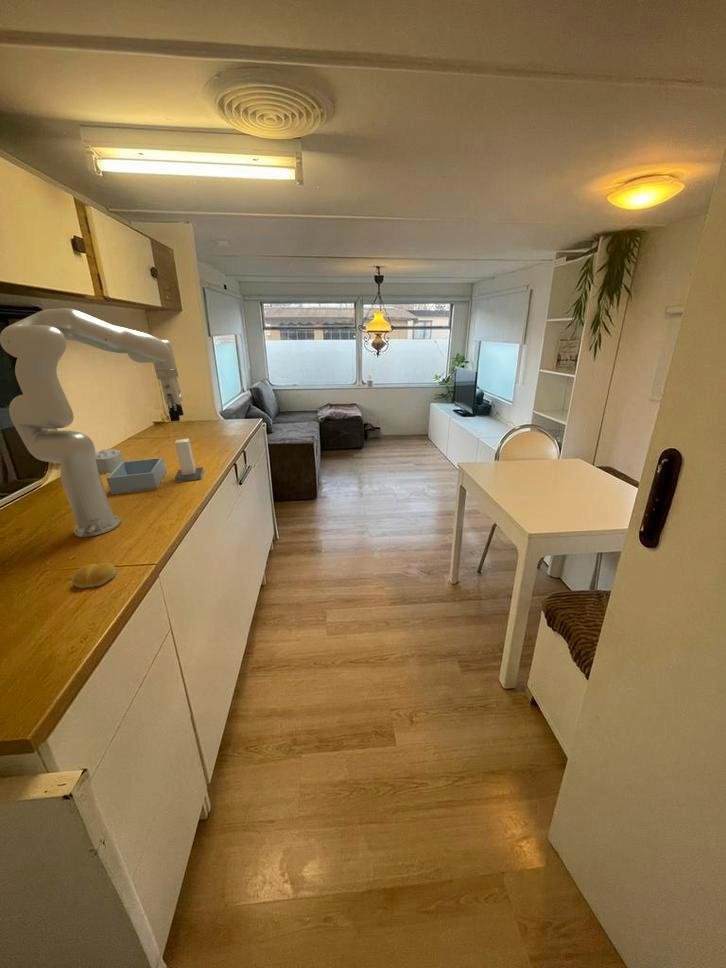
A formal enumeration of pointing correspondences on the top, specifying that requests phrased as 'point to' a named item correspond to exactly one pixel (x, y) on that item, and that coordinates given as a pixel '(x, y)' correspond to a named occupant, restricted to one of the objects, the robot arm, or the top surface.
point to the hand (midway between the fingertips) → (177, 418)
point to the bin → (136, 476)
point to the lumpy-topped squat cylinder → (108, 460)
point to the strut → (185, 456)
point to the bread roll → (93, 575)
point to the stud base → (189, 475)
